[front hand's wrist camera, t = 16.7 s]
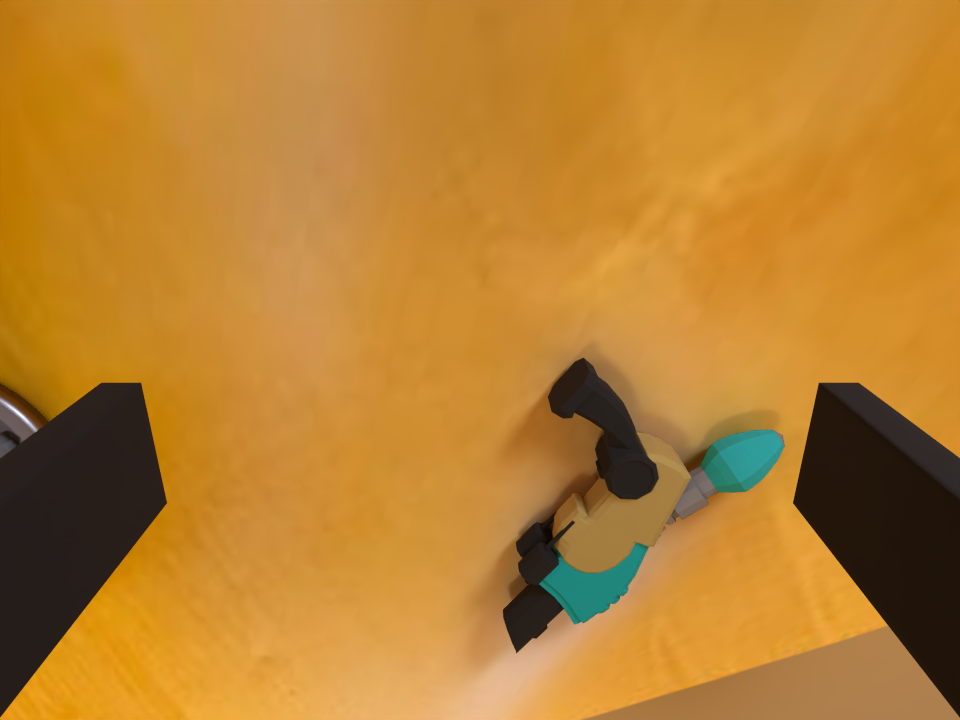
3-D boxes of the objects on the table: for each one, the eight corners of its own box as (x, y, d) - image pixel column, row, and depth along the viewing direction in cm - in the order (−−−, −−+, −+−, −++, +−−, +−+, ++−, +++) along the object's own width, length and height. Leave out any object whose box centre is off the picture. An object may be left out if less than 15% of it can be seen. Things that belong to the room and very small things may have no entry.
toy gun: (389, 595, 46) (549, 691, 49) (641, 324, 38) (808, 460, 42) (396, 555, 50) (543, 646, 53) (625, 303, 42) (778, 428, 46)
